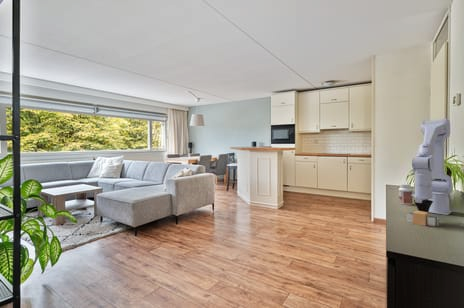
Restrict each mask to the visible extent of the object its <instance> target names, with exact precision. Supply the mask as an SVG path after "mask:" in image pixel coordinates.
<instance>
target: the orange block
mask: <svg viewBox="0 0 464 308" xmlns="http://www.w3.org/2000/svg"><path fill="white" fill-rule="evenodd" d="M412 213H413V222H412V224H413V225H419V226H422V227H423V226H428V225H427V217H429V216H430V212H424V211H418V210H415V211H413V212H412Z"/></svg>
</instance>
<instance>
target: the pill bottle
mask: <svg viewBox="0 0 464 308" xmlns="http://www.w3.org/2000/svg"><path fill="white" fill-rule="evenodd" d="M412 194H413V189H412V188H411V184H410V183H400V184H399V188H398V203H399V204H400V205H403V206H412V205H413V202H414V200H413V196H411V195H412Z"/></svg>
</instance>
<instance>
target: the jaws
mask: <svg viewBox="0 0 464 308" xmlns="http://www.w3.org/2000/svg"><path fill="white" fill-rule="evenodd" d="M411 213H413V212H411V211H409V212H407V213H405V215H404V221H405V222H407V223H413V214H411ZM429 216H433V217H434V218H433V217H427V225H426V226H431V227H436V226H437V227H439V226H440V219H439V218H438V217H439V216H437V215H432V214H431V215H430V214H429Z"/></svg>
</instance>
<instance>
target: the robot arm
mask: <svg viewBox="0 0 464 308" xmlns="http://www.w3.org/2000/svg"><path fill="white" fill-rule="evenodd" d="M420 131H421V133H422V135H423V142H422V143H420V144H419V146H418V149H417V152H416V156H415V157H413V158H412V160H411V161H412V162H411V167H412V174H414V175H413V176H414V193H412V195H411V196H412V198H413V197H414V200H413V202H414V204H415V206H416V208H417V211H424V212H429V214H430V213H431V214H439V215H445V216H448V215H449V214H451V213H452V212H453V210H450V197H449V195H451V194H452V193H453V191H454V183H453V179H452V177H451V176H450V175H448V174H447V173H445V141H446V138H449V137H450V136H451V121H450V120H449V118H443V119H432V120H422V122H421V123H420Z"/></svg>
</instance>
